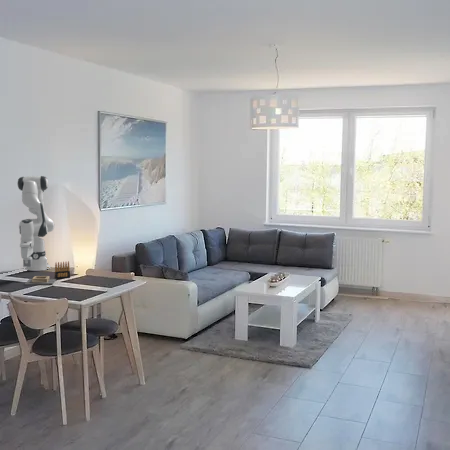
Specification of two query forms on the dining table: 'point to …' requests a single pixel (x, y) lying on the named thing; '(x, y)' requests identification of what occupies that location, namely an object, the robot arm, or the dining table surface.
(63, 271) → the ammunition clip
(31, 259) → the connector
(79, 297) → the dining table surface
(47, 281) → the end holder
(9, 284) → the dining table surface
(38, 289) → the dining table surface
